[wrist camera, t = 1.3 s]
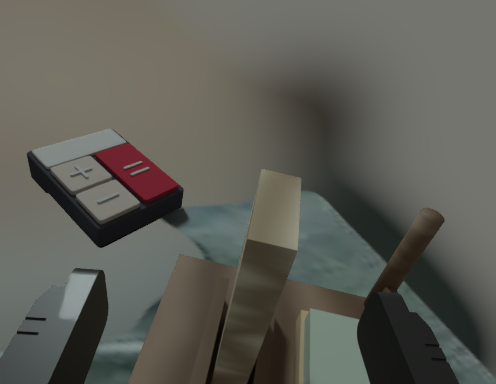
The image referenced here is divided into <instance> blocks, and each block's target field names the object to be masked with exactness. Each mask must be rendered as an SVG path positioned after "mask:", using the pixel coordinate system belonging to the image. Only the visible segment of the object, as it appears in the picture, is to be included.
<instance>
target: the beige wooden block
mask: <svg viewBox="0 0 496 384" xmlns="http://www.w3.org/2000/svg"><path fill="white" fill-rule="evenodd" d="M300 192H301V178H298V177H294V176H290V175H286V174H281V173H277V172H272V171H268V170H264V169H262V170H261V175H260V179H259V183H258V187H257V191H256V195H255V199H254V203H253V207H252V211H251V215H250V220H249V224H248V228H247V232H246V236H245V240H244V244H243V248H242V252H241V256H240V261H239V265H238V269H237V273H236V277H235V281H234V285H233V289H232V293H231V297H230V301H229V306H228V310H227V314H226V318H225V322H224V327H223V331H222V336H221V340H220V345H219V349H218V354H217V358H216V363H215V367H214V372H213V376H212V381H211V384H247V382H248V380H249V377H250V374H251V372H252V369H253V366H254V364H255V361H256V359H257V356H258V353H259V351H260V348H261V345H262V343H263V340H264V338H265V335H266V332H267V330H268V327H269V324H270V322H271V319H272V317H273V314H274V311H275V309H276V306H277V303H278V301H279V298H280V296H281V293H282V290H283V288H284V285H285V282H286V280H287V277H288V275H289V272H290V269H291V267H292V264H293V261H294V259H295V256H296V254H297V251H298V233H299V212H300Z"/></svg>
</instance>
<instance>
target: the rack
mask: <svg viewBox="0 0 496 384" xmlns="http://www.w3.org/2000/svg"><path fill="white" fill-rule="evenodd" d="M443 222H444V217H443V216H442V215H441V214H440V213H439V212H437V211H435V210H433V209H430V208H423V209H421V211H420V212H419V214H418V216H417V217H416V219H415V221H414V222H413V224H412V225H411V227H410V229H409V230H408V232H407V233H406V235H405V237H404V238H403V240H402V241H401V243H400V245H399V246H398V248H397V249H396V251H395V253H394V254H393V256H392V258H391V259H390V261H389V262H388V264H387V266H386V267H385V269H384V270H383V272H382V274H381V275H380V277H379V278H378V280H377V282H376V283H375V285H374V286H373V288H372V290H371V291H370V293H369V295H368V296H367V298H365V297H361V296H356V295H352V294H348V293H344V292H339V291H335V290H331V289H326V288H322V287H318V286H314V285H309V284H305V283H301V282H297V281H292V280H288V279H287V280H286V282H285V285H284V288H283V290H282V293H281V296H280V298H279V301H278V303H277V306H276V309H275V311H274V314H273V317H272V319H271V322H270V324H269V327H268V330H267V332H266V335H265V338H264V340H263V343H262V345H261V348H260V351H259V353H258V356H257V359H256V361H255V364H254V366H253V369H252V372H251V374H250V377H249V380H248V382H247V384H293V374H294V352H295V330H296V320H297V318H298V316H299V313H300V311H301V310H305V311H309V310H310V308H312V309H316V310H320V311H325V312H329V313H333V314H338V315H342V316H346V317H350V318H355V319H359V320H360V318H361V315H362V313H363V311H364V308H365V306H366V304H367V301H368V299H369V297H370V295H371V293H372V292H387V293H398V292H397V289H398V288H399V286H400V285H401V283H402V282H403V280H404V279H405V277H406V276H407V275H408V273H409V272H410V270H411V269H412V267H413V266H414V264H415V263H416V262H417V260H418V259H419V257H420V256H421V254H422V253H423V251H424V250H425V249H426V247H427V246H428V244H429V243H430V241H431V240H432V239H433V237H434V236H435V234H436V233H437V231H438V230H439V228H440V227H441V225H442V224H443ZM237 269H238V268H237V267H232V266H228V265H224V264H220V263H215V262H211V261H207V260H202V259H198V258H194V257H190V256H185V255H181V254H180V255H179V257H178V260H177V262H176V265H175V267H174V270H173V272H172V275H171V277H170V280H169V282H168V285H167V287H166V290H165V292H164V295H163V297H162V300H161V302H160V305H159V307H158V310H157V312H156V314H155V317H154V319H153V322H152V324H151V327H150V329H149V332H148V334H147V337H146V339H145V342H144V344H143V347H142V349H141V352H140V354H139V357H138V359H137V362H136V364H135V367H134V369H133V372H132V374H131V377H130V379H129V382H128V384H211V381H212V376H213V372H214V367H215V363H216V358H217V354H218V349H219V345H220V340H221V336H222V331H223V327H224V322H225V318H226V314H227V310H228V306H229V301H230V297H231V293H232V289H233V285H234V281H235V277H236V273H237Z"/></svg>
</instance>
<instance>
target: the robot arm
mask: <svg viewBox="0 0 496 384" xmlns="http://www.w3.org/2000/svg"><path fill="white" fill-rule="evenodd" d="M107 316H108V299H107V290H106V283H105V274H104V272H103V270H93V269H80V268H76V269H74V270H73V271H72V273H71V275H70V276H69V278H68V280H67V282H66V284H65V286H51V287H50V288H49V289H48V290H47V291H46V292H44V293H43V294H42V295H41V296H40V297H39V298H37V299H36V300H35V302H34V304H33V305H32V307H31V309H30V310H29V312H28V314H27V315H26V319H25V320H24V321H23V322H22V324H21V325H20V327H19V329H18V330H17V334H16V335H14V337H13V338H12V340H11V342H10V343H9V345H8V347H7V348H6V350H5V352H4V353H3V355H2V357H1V358H0V384H84V382H85V379H86V376H87V374H88V371H89V368H90V366H91V363H92V360H93V358H94V355H95V352H96V349H97V347H98V344H99V341H100V339H101V336H102V333H103V331H104V328H105V325H106V321H107ZM357 341H358V345H359V348H360V352H361V355H362V358H363V362H364V365H365V368H366V372H367V375H368V378H369V382H370V384H459V382H458V380H457V378H456V376H455V375H454V373H453V371H452V369H451V367H450V365H449V363H448V362H446V357H445V355H444V353H443V351H442V349H441V348H439V343H438V341H437V339H436V337H435V335H434V333H433V332H432V330H431V328H430V327H429V326H428V324H427V323H426V322H425V321H424V320H423V319H422V318H421V317H420V316H419V315H418V314H417V313H415V312H409V310H408V308H407V306H406V304H405V302H404V300H403V298H402V296H401V295H400V294H398V293H387V292H372V293H371V295H370V297H369V299H368V301H367V304H366V306H365V308H364V311H363V313H362V315H361V318H360V320H359V322H358V326H357Z"/></svg>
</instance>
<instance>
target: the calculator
mask: <svg viewBox="0 0 496 384" xmlns="http://www.w3.org/2000/svg"><path fill="white" fill-rule="evenodd" d="M27 157H28V162H29V167H30V172H31V177H32V178H33V179H34V180H35V181H36V183H37V184H38V185H39V186H40V187H41V188H42V189H43V190H44V191H45V193H49V194H50V195H51V196H52V197H53V198H54V199H55V200H56V201H57V203H58V204H59V205H60V206H61V207H62V208H63V209H64V210H65V212H66V213H67V214H68V215H69V216H70V217H71V218H72V219H73V220H74V221H75V222H76V224H77V225H78V226H79V227H80V228H81V229H82V230H83V231H84V232H85V234H86V235H87V236H88V237H89V238H90V239H91V240H92V241H93V242H94V244H95V245H96V246H97V247H99V248H103V247H105V246H107V245H109V244H111V243H113V242H115V241H117V240H119V239H121V238H123V237H125V236H127V235H129V234H131V233H133V232H134V231H137V230H139V229H141V228H143V227H145V226H146V225H148V224H150V223H152V222H154V221H156V220H158V219H160V217H162V216H164V215H165V214H167V213H169V212H171V211H173V210H175V209H177V208H180V207H181V205H182V198H183V188H182V187H181V186H180V185H179V184H177V183H176V182H175V181H174V180H173V179H171V178H170V177H169V176H168V175H167V174H166V173H164V172H163V171H162V170H161V169H160V168H158V167H157V166H156V165H155V164H154V163H153V162H151V161H150V160H149V159H148V158H147V157H145V156H144V155H143V154H142V153H141V152H139V151H138V150H137V149H136V148H135V147H134V146H132V145H131V144H130V143H129V142H127V141H126V140H125V139H124V138H123V137H122V136H120V135H119V134H118V133H117V132H116V131H114V130H112V129H107V130H103V131H99V132H96V133H92V134H89V135H85V136H82V137H78V138H75V139H71V140H68V141H64V142H60V143H57V144H53V145H50V146H46V147H42V148H39V149H35V150H33V151H30V152H28V153H27Z"/></svg>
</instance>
